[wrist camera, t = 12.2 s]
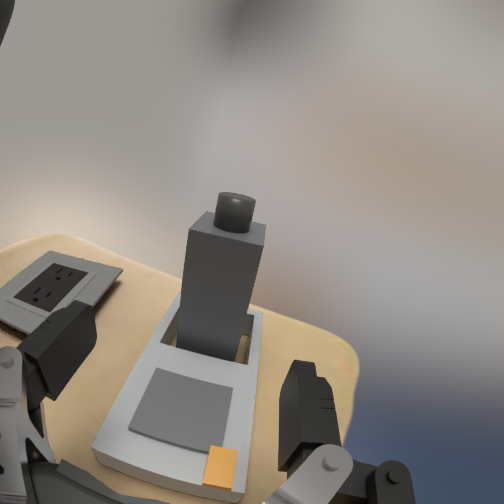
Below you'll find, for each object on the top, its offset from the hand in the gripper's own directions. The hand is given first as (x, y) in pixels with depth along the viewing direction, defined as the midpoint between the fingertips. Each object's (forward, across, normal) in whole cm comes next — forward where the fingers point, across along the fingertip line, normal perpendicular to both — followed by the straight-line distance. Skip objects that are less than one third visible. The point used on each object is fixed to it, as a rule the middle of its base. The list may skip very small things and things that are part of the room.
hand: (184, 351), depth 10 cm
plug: (+10, 0, +9) cm, 14 cm away
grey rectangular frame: (+6, 0, +9) cm, 11 cm away
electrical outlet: (+10, +16, +10) cm, 21 cm away
